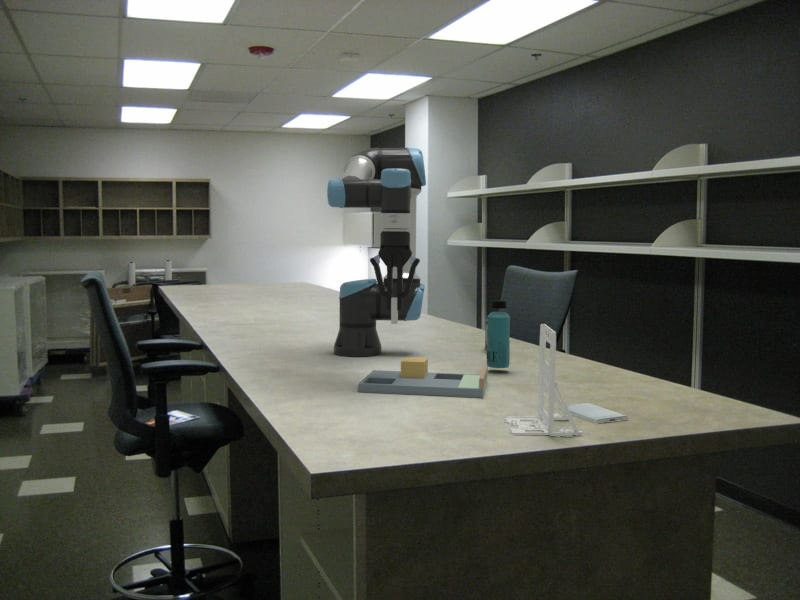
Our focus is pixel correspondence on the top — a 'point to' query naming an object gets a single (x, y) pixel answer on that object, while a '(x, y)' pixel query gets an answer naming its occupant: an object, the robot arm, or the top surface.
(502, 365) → the beverage bottle
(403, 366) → the ochre block
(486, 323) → the brown semicircular wedge
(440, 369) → the top surface
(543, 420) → the white bracket stand
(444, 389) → the board
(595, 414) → the hard drive
